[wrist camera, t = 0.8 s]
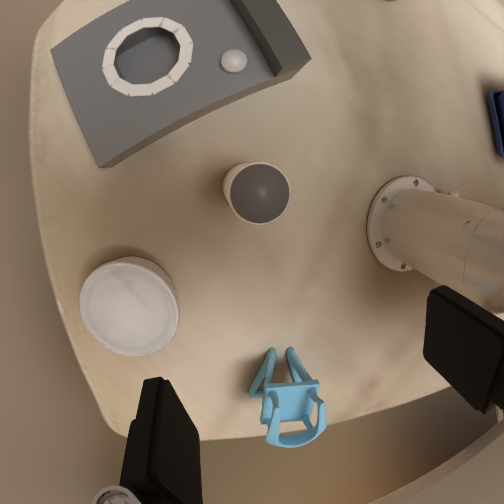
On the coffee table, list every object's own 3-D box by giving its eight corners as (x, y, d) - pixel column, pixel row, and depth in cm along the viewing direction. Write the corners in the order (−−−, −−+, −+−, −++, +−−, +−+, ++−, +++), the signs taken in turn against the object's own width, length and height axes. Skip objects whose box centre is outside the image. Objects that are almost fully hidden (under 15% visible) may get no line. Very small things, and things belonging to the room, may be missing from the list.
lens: (256, 155, 31) (275, 150, 22) (276, 196, 32) (302, 208, 23) (214, 176, 31) (215, 179, 22) (235, 217, 32) (245, 237, 23)
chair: (309, 345, 39) (341, 403, 27) (299, 390, 41) (324, 449, 29) (252, 347, 37) (269, 412, 26) (248, 393, 40) (261, 457, 28)
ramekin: (194, 265, 33) (192, 282, 28) (170, 344, 36) (166, 369, 31) (103, 235, 31) (86, 247, 26) (89, 317, 33) (74, 338, 28)
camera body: (230, -21, 24) (235, -53, 17) (291, 78, 29) (311, 58, 22) (64, 59, 24) (37, 41, 17) (111, 167, 29) (87, 168, 22)
